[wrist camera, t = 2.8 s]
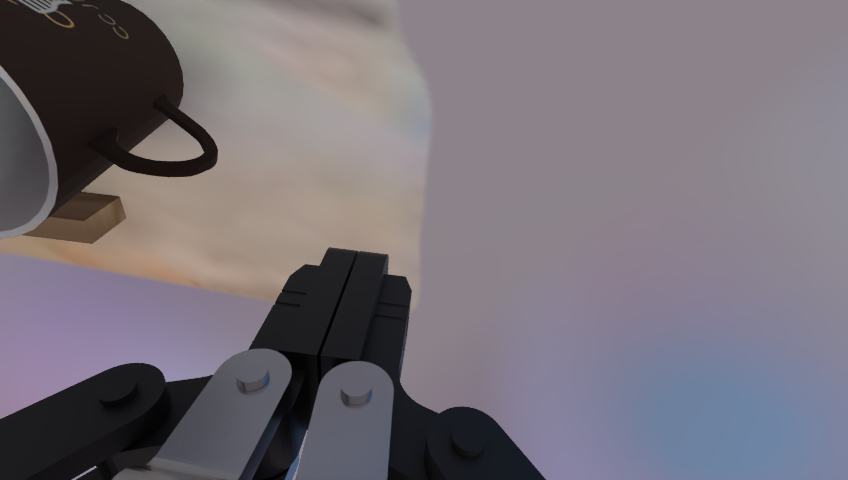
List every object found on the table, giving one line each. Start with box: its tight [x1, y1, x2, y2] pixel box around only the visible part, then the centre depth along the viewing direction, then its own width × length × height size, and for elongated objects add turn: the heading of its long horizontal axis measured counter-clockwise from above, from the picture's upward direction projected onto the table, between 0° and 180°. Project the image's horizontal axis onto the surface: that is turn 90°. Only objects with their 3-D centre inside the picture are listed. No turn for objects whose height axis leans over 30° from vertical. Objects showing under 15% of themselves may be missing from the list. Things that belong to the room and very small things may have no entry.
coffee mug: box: [0, 0, 218, 239], centre depth 19 cm, size 12×9×10 cm
